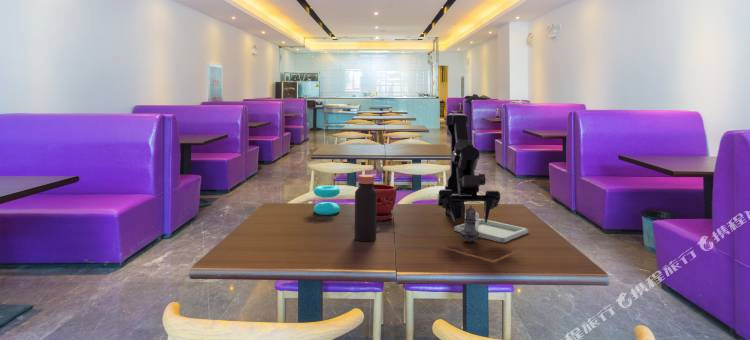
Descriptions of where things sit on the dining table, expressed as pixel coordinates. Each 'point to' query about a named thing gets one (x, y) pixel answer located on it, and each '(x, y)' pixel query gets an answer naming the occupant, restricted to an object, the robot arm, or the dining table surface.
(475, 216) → the white smooth curved piece
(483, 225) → the tray
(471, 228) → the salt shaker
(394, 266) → the dining table surface
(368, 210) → the bottle
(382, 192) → the plant pot
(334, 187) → the donuts
